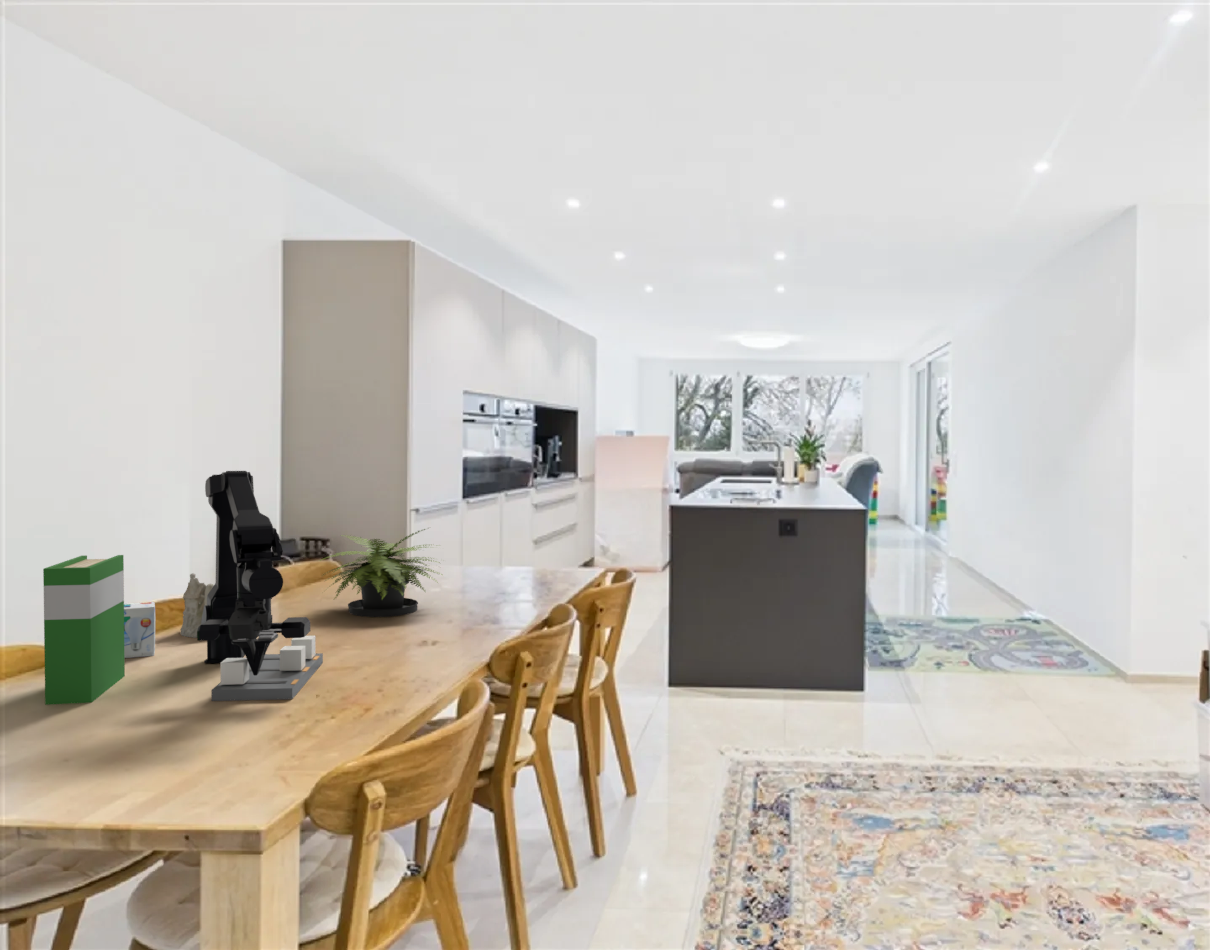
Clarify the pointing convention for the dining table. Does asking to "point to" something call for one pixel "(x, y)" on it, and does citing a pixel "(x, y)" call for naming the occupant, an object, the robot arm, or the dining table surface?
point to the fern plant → (382, 579)
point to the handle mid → (292, 658)
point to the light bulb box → (139, 629)
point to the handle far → (306, 645)
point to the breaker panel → (269, 681)
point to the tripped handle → (234, 671)
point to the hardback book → (83, 628)
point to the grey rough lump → (194, 606)
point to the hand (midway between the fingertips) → (255, 674)
